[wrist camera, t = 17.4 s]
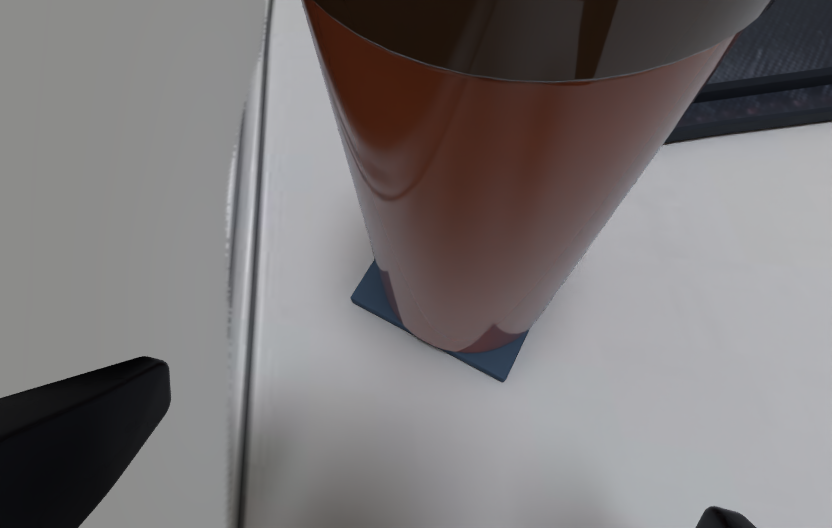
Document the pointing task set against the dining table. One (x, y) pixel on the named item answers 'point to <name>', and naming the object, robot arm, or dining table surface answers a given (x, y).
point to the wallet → (769, 75)
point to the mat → (488, 362)
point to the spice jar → (504, 137)
